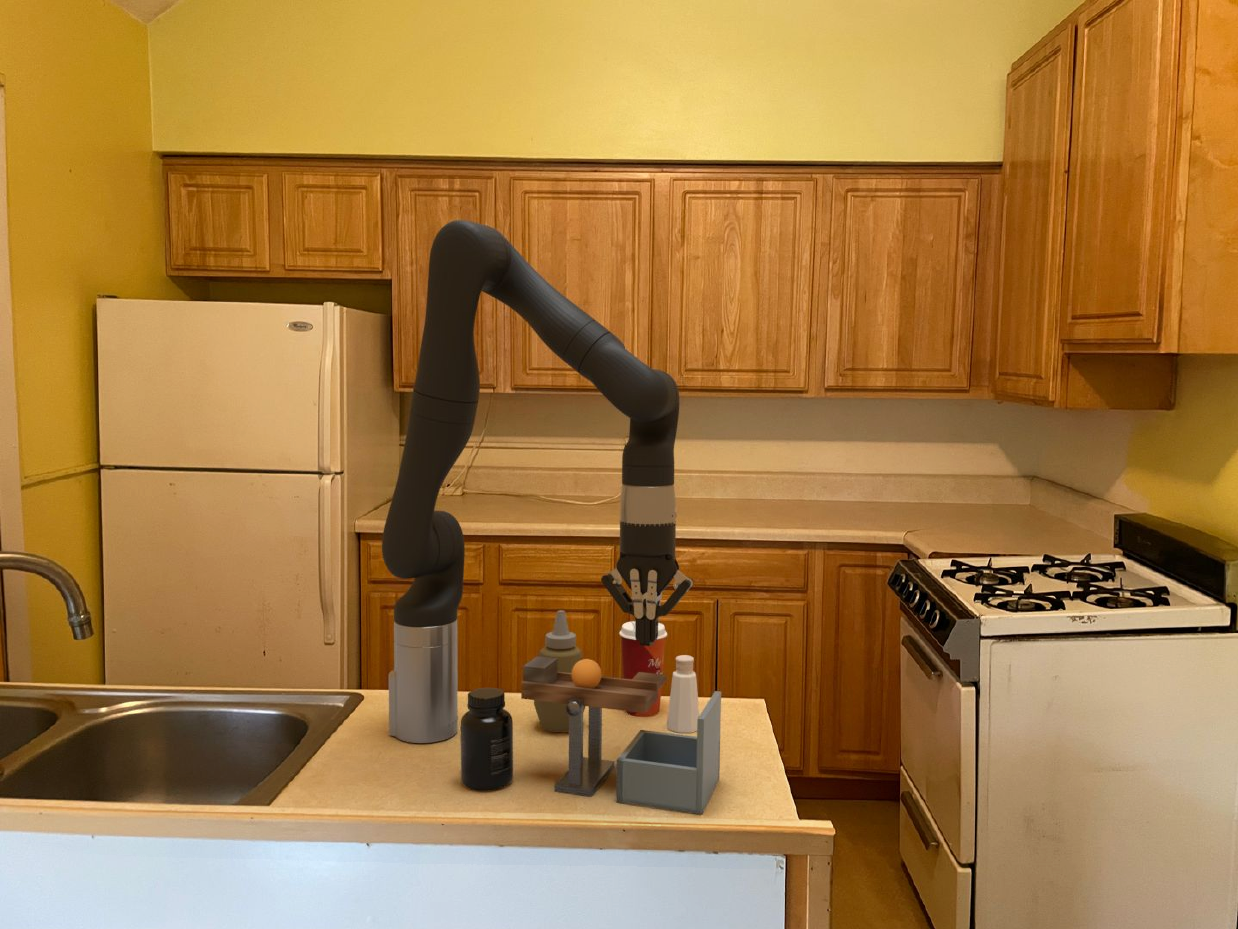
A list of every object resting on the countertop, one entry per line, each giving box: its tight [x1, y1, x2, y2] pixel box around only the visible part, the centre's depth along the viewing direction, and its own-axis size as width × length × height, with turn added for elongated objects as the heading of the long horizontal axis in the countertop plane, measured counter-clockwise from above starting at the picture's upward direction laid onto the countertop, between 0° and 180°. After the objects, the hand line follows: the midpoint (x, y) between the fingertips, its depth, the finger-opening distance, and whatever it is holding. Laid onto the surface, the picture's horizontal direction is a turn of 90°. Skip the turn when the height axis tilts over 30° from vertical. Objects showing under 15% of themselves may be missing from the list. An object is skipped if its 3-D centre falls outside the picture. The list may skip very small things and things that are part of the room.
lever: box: [520, 655, 667, 713], centre depth 128 cm, size 17×13×4 cm
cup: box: [615, 690, 722, 816], centre depth 122 cm, size 11×11×12 cm
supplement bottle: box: [459, 687, 514, 792], centre depth 124 cm, size 7×7×12 cm
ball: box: [571, 658, 603, 689], centre depth 125 cm, size 4×4×4 cm
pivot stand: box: [553, 698, 615, 798], centre depth 125 cm, size 5×10×12 cm, turn 163°
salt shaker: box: [666, 654, 700, 734], centre depth 145 cm, size 5×5×11 cm
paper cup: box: [619, 620, 668, 718], centre depth 152 cm, size 8×8×14 cm
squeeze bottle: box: [533, 609, 587, 733], centre depth 144 cm, size 8×8×18 cm
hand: (646, 644), depth 128 cm, fingers closed
